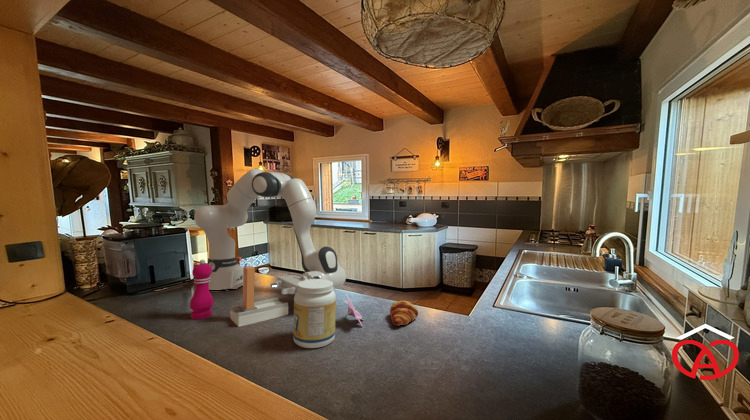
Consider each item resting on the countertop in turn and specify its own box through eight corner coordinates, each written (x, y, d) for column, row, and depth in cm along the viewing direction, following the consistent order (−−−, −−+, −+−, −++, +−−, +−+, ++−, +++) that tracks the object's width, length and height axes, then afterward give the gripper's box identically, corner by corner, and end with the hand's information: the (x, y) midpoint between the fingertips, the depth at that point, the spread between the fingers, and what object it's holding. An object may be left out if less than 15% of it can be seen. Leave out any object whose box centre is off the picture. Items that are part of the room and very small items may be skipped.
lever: (251, 306, 104) (251, 265, 103) (257, 310, 99) (258, 268, 99) (239, 308, 101) (240, 266, 101) (245, 313, 96) (245, 269, 96)
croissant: (401, 316, 115) (392, 297, 116) (424, 307, 113) (415, 288, 114) (388, 338, 95) (378, 315, 96) (416, 327, 92) (405, 304, 94)
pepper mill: (194, 321, 97) (195, 262, 97) (185, 316, 101) (186, 259, 101) (217, 315, 103) (217, 259, 102) (207, 311, 107) (208, 257, 107)
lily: (351, 338, 90) (367, 310, 91) (322, 317, 94) (337, 291, 96) (363, 335, 101) (376, 310, 102) (336, 316, 105) (350, 292, 106)
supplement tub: (290, 334, 89) (291, 279, 89) (329, 328, 94) (330, 276, 94) (296, 353, 78) (297, 290, 78) (339, 345, 83) (341, 286, 82)
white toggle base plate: (277, 307, 112) (277, 297, 112) (288, 314, 105) (288, 303, 105) (230, 318, 100) (230, 306, 100) (238, 326, 94) (238, 314, 94)
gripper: (297, 270, 124) (265, 274, 114) (323, 280, 109) (289, 286, 99) (297, 284, 124) (265, 290, 115) (323, 296, 109) (288, 304, 99)
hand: (276, 288), depth 107 cm, fingers open, 8 cm apart
